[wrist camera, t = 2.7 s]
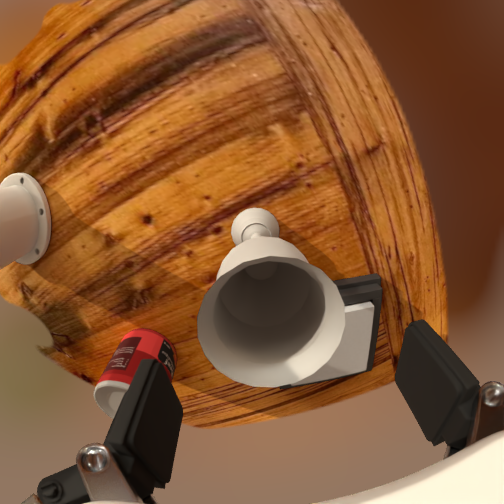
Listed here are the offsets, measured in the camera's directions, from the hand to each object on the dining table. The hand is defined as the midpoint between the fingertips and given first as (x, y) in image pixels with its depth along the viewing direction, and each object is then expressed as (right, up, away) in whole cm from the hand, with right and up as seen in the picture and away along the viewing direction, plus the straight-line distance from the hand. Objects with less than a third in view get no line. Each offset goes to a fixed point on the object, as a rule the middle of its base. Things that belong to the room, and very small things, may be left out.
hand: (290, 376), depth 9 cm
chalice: (-1, +7, +20) cm, 21 cm away
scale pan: (+8, -6, +22) cm, 24 cm away
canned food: (-15, -9, +25) cm, 30 cm away
